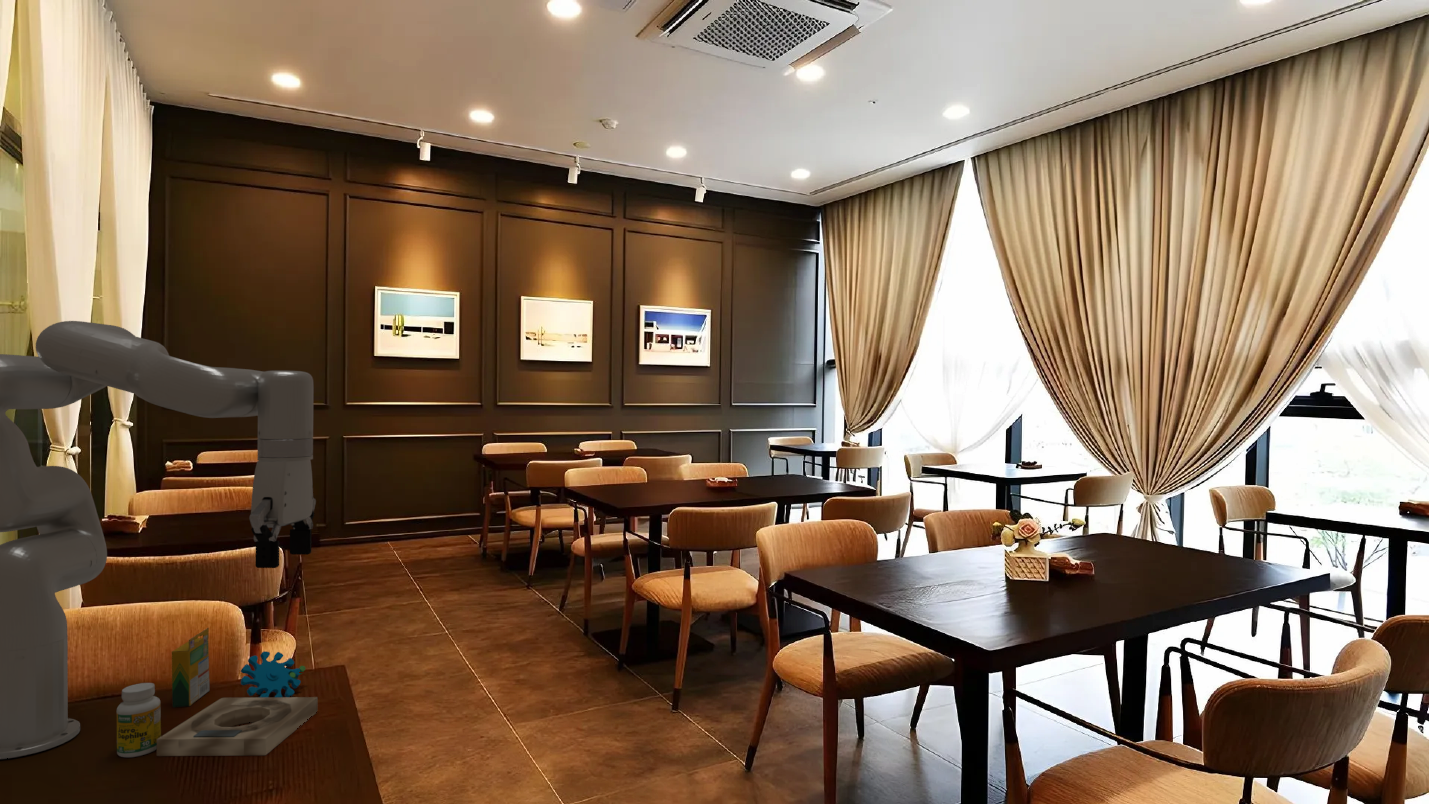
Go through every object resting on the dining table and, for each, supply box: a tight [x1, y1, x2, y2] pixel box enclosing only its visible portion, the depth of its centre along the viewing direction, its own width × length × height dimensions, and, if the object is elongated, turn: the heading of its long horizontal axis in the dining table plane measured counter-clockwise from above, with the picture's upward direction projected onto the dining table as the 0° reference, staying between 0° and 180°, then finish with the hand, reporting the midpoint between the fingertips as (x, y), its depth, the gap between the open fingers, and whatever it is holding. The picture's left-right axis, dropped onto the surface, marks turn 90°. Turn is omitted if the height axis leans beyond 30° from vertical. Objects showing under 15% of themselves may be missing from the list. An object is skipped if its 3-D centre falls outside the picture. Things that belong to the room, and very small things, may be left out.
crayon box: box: [171, 627, 210, 708], centre depth 137 cm, size 7×3×12 cm, turn 10°
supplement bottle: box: [116, 682, 162, 758], centre depth 117 cm, size 5×5×10 cm
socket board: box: [156, 696, 319, 757], centre depth 124 cm, size 16×16×3 cm
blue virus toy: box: [240, 650, 306, 697], centre depth 139 cm, size 11×6×10 cm
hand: (284, 560), depth 120 cm, fingers open, 9 cm apart
